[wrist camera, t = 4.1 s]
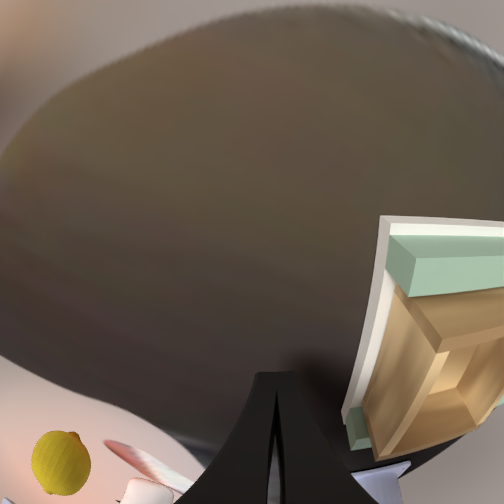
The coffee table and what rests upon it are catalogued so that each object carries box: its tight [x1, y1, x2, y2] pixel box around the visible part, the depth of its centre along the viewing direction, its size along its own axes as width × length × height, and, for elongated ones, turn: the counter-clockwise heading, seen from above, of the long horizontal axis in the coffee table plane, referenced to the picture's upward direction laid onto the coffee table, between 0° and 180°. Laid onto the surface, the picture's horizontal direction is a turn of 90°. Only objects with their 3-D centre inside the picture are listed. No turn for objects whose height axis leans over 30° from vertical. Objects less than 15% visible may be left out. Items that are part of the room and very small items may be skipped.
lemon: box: [31, 431, 91, 496], centre depth 14 cm, size 6×6×8 cm
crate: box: [361, 282, 504, 462], centre depth 8 cm, size 7×6×4 cm
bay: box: [341, 216, 504, 450], centre depth 9 cm, size 11×16×3 cm
